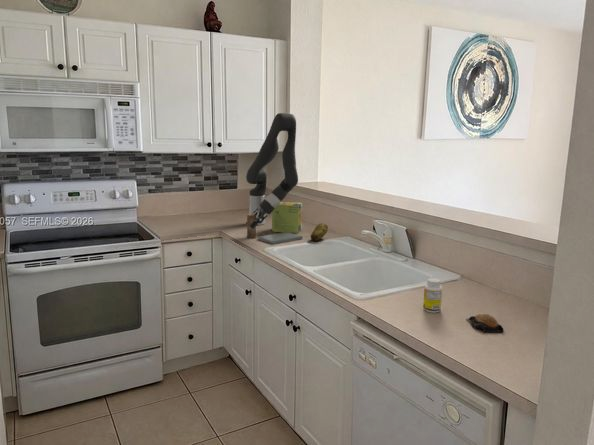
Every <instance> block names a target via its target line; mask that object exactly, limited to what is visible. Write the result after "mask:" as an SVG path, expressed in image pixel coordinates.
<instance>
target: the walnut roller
mask: <svg viewBox="0 0 594 445" xmlns="http://www.w3.org/2000/svg"><path fill="white" fill-rule="evenodd" d="M255 220H256V215H254V214H249V213H248V214H246V222H247V224H246V230H247V231H246V236H247V237H246V238H247V239H250V240H251V239H256V238H257V225H256V226H255V228H254V229H252V228H251V227H250V225H251V224H252V223H253V222H254V221H255Z"/></svg>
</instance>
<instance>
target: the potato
mask: <svg viewBox="0 0 594 445" xmlns="http://www.w3.org/2000/svg"><path fill="white" fill-rule="evenodd" d="M328 231H329V226H328V225H327V224H325V223H318V224H317V225H316V226H315V227H314V229H313V231H312V232H311V234H310V239H311V241H313V242H317V241H319V240H321V239H322V238H323V237H324V236H325V235H327V233H328Z"/></svg>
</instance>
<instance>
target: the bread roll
mask: <svg viewBox="0 0 594 445" xmlns="http://www.w3.org/2000/svg"><path fill="white" fill-rule="evenodd" d="M465 320H466V322H467V323H468V324H469V325H470V326H471V327H473V328H474V329H475V330H476V331H477V332H479V333H482V334H503V333H505V330H504V328H503V326H502V325H501V324H499V322H498V321H497V319H496V318H495V317H494V316H493V315H490V314H488V313H487V314H486V313H482V314H476V315H475V316H473V315H472V316H470V317H469V318H466V319H465Z"/></svg>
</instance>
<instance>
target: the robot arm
mask: <svg viewBox="0 0 594 445" xmlns="http://www.w3.org/2000/svg"><path fill="white" fill-rule="evenodd" d="M269 128H270V129H269V132H268V134H267V135H266V137H265V139H264V141H263V143H262V144H261V147H260V149H259V151H258V153H257V155H256V157H255V159H254V161H253V162H252V163H251V165H250V167H249V168H248V170H247V172H246V177H245V178H246V182H247V183H248V184H250V185H255V187H253V188H252V189H250V190H249V207H248V215H249V214H254V215H256V220H255V221H254V222H253V223H252V224H251V225H250V227H251V228H252V229H254V228H255V226H256V227H257V226H258V225H265V224H266V218H267V217H268V215H272V211H273V210H274V209H275V208H276V207H277V206H278V205H279V203H280V202H283V200H284V199H285V198H286V196H287V195H288V194H289V193H290V192H291V191H292V190H293V189H294V188H295V187H296V186H297V185H298V183H299V176H298V171H297V170H298V169H297V159H296V137H297V119H296V116H295V115H294V114H293V113H284V112H283V113H282V112H280V113H277V114H276V115H275V116H274V118H273V120H272V123H271V125H270V127H269ZM280 132H287V139H286V143H285V146H284V148H283V150H282V154H281V158H282V159H281V160H282V167H283V169H284V171H283V172H284V179H282V181H281V182H280V183H279V184H278V185H277V186H276V187H275V188H274V189H273V190H271V192H270V193H269V194H268V195H266V191H267V176H268V175H267V170H266V169H265V167H266V166H268V165H269V163H271V162H273V160H274V159H275V158H276V156H277V154H278V151H279V147H280V146H279V141H278V136H279V134H280ZM245 224H246V225H247V221H246V222H245Z"/></svg>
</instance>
